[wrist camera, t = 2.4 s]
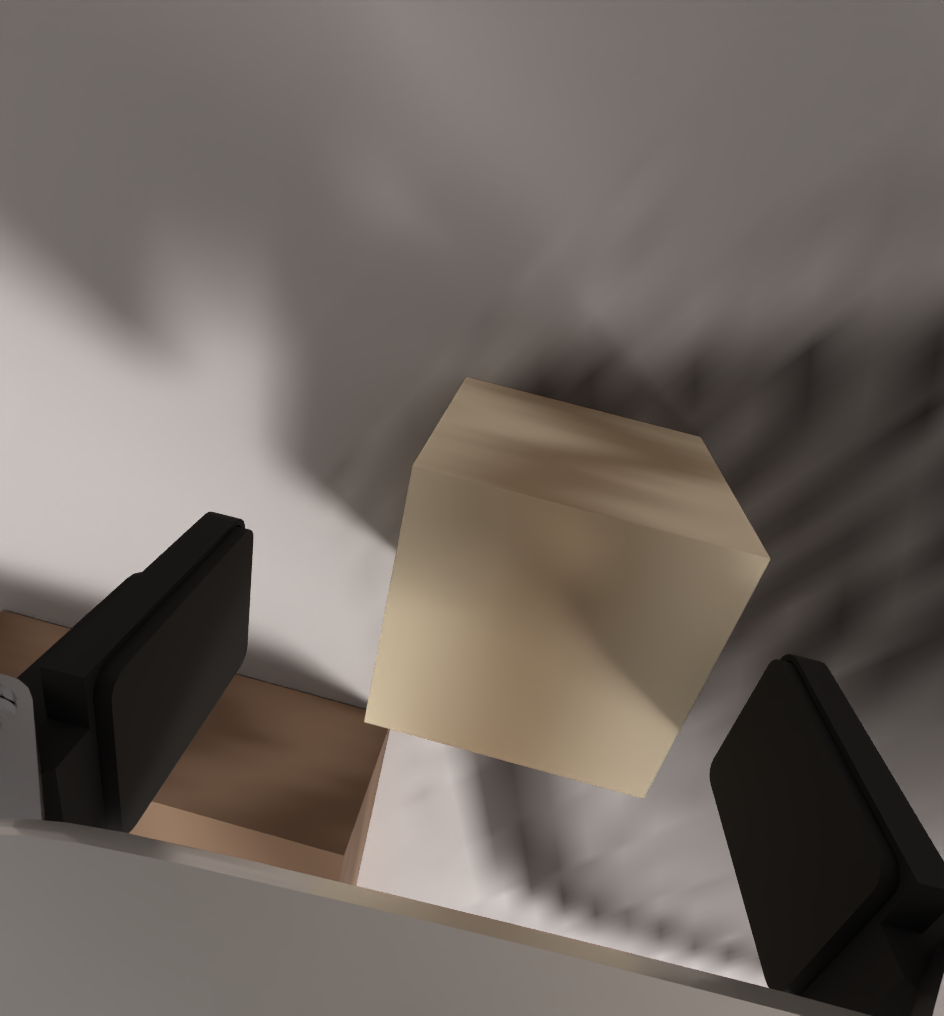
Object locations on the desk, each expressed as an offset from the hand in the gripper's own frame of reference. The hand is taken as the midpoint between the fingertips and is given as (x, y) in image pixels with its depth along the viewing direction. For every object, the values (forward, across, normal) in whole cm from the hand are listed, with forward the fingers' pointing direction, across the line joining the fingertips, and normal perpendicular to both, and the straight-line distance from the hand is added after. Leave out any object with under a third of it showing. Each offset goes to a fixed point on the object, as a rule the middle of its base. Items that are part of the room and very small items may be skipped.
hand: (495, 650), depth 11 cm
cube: (+6, -1, 0) cm, 6 cm away
